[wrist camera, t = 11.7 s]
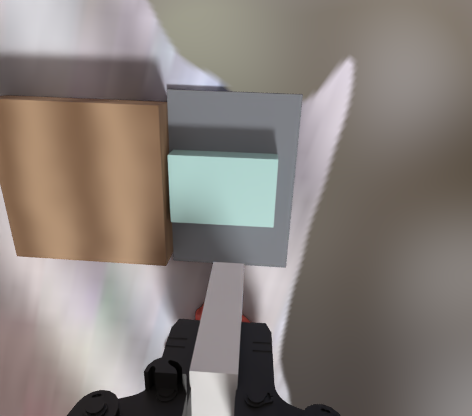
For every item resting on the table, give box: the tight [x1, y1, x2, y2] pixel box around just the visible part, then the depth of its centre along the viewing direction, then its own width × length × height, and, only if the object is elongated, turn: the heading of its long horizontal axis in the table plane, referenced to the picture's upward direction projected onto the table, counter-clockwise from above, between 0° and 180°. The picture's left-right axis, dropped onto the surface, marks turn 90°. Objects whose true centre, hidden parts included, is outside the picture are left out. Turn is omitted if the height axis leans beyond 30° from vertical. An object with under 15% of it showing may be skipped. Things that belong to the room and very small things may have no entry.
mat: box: [167, 89, 303, 268], centre depth 31 cm, size 11×16×1 cm
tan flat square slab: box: [0, 95, 173, 266], centre depth 31 cm, size 14×14×3 cm
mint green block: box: [168, 150, 278, 228], centre depth 30 cm, size 9×6×2 cm, turn 89°
